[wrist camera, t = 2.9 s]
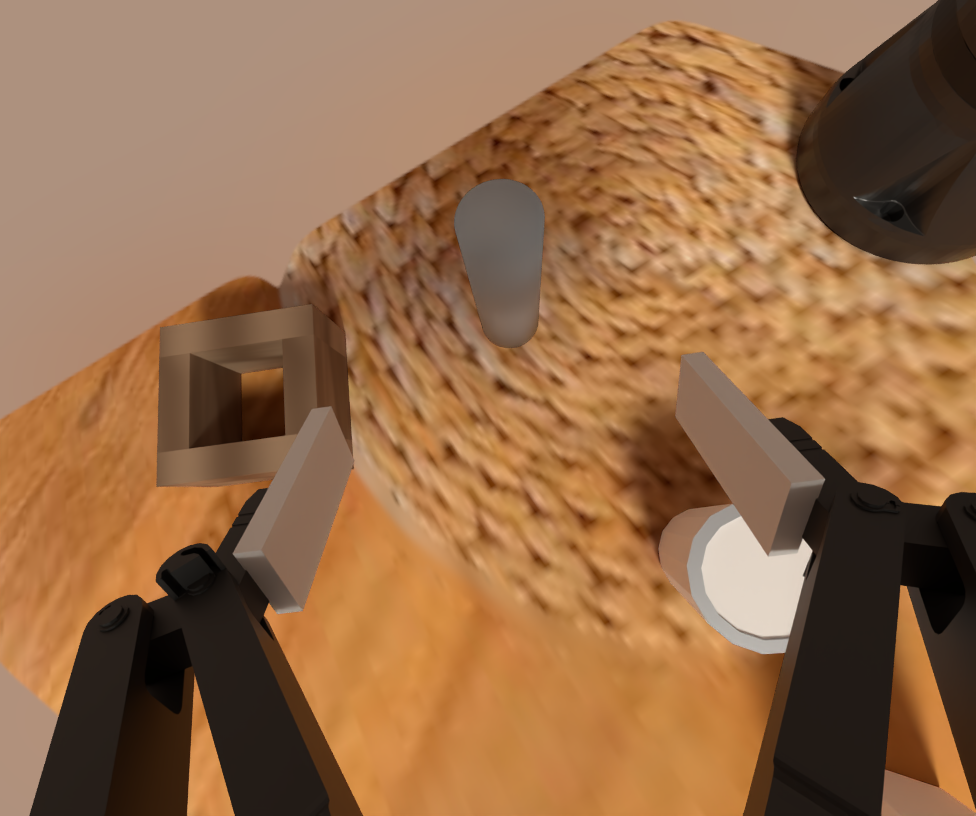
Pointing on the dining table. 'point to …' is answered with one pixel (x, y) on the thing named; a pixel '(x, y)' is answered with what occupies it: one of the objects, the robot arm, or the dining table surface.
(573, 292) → the dining table surface
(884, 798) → the milk
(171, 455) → the socket
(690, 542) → the grey and white cylinder
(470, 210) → the grey cylinder
